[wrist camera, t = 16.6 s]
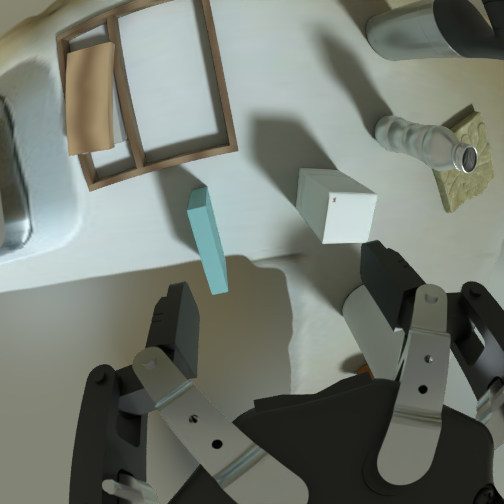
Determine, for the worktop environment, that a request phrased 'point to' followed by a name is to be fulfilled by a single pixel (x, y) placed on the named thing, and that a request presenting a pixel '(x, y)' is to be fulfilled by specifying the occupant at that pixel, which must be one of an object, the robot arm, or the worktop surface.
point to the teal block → (207, 239)
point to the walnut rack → (142, 167)
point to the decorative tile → (458, 182)
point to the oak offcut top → (90, 99)
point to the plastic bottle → (426, 144)
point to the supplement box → (335, 205)
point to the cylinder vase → (373, 333)
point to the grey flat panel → (117, 115)
